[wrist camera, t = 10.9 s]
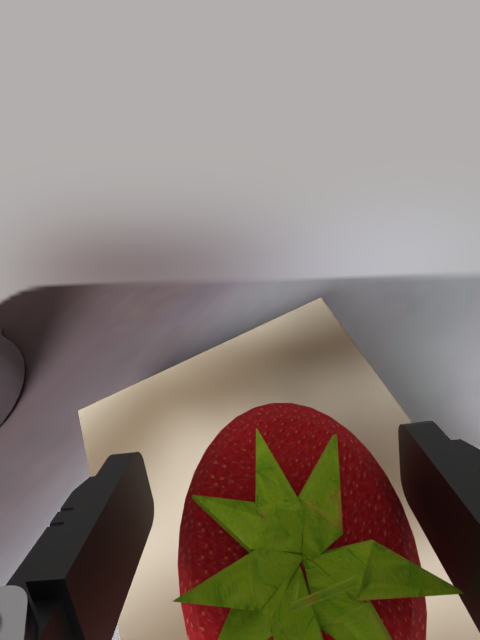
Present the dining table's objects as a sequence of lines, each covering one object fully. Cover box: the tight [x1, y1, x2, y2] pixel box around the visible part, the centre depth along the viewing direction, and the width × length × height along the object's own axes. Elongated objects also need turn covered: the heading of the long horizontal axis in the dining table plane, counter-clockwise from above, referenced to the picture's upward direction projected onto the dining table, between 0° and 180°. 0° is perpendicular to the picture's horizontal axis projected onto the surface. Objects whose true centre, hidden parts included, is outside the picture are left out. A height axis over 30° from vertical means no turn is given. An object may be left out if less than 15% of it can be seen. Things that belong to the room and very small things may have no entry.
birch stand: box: [78, 297, 480, 640], centre depth 16 cm, size 18×14×5 cm
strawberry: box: [172, 403, 464, 640], centre depth 9 cm, size 6×8×10 cm
